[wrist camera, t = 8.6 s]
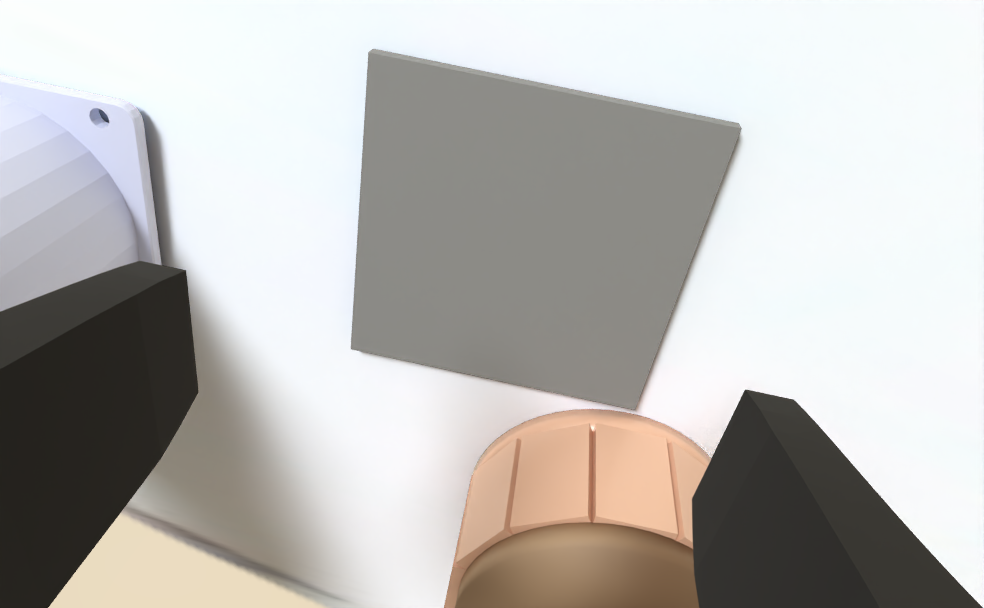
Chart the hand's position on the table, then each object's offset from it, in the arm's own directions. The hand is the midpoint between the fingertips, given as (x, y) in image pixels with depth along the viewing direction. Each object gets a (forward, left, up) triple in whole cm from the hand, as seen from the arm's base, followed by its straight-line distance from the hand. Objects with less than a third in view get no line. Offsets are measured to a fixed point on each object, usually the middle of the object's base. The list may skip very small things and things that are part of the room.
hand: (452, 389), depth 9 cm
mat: (0, -3, -10) cm, 10 cm away
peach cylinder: (+5, -12, -10) cm, 17 cm away
